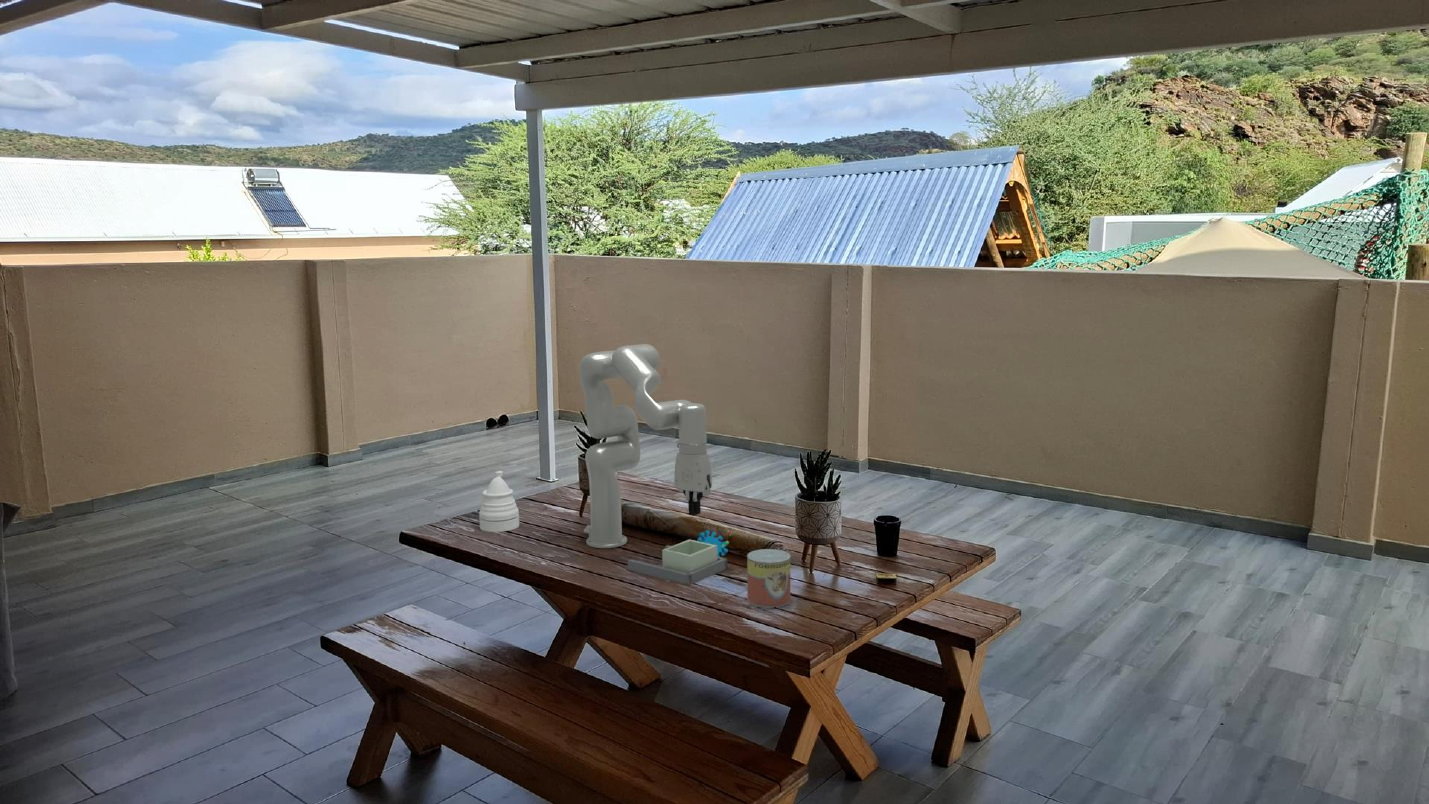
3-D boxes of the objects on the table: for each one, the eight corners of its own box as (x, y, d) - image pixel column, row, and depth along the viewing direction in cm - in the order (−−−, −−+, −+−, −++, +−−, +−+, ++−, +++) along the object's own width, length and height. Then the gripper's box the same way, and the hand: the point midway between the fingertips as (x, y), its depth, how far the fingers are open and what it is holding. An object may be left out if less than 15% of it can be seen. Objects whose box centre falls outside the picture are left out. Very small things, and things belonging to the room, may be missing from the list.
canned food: (758, 610, 247) (758, 564, 245) (740, 596, 257) (739, 552, 256) (798, 603, 252) (798, 558, 250) (778, 590, 262) (778, 546, 260)
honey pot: (488, 520, 332) (485, 468, 329) (524, 521, 330) (522, 469, 327) (473, 531, 319) (471, 477, 317) (511, 532, 318) (509, 478, 315)
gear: (706, 559, 283) (694, 529, 288) (696, 569, 287) (685, 540, 292) (736, 557, 290) (724, 528, 295) (726, 567, 293) (714, 538, 298)
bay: (628, 573, 276) (627, 560, 276) (667, 557, 290) (667, 545, 289) (689, 589, 263) (688, 575, 263) (727, 571, 277) (727, 558, 276)
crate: (662, 574, 272) (662, 549, 271) (689, 562, 281) (689, 539, 280) (690, 581, 266) (690, 556, 265) (717, 569, 275) (717, 545, 274)
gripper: (663, 448, 269) (665, 513, 271) (706, 454, 260) (707, 521, 262) (680, 444, 275) (682, 507, 277) (723, 449, 266) (724, 515, 268)
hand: (694, 514), depth 270 cm, fingers closed
